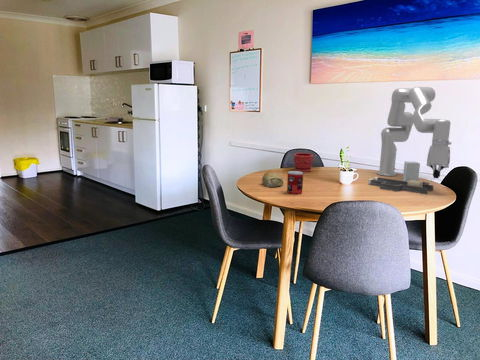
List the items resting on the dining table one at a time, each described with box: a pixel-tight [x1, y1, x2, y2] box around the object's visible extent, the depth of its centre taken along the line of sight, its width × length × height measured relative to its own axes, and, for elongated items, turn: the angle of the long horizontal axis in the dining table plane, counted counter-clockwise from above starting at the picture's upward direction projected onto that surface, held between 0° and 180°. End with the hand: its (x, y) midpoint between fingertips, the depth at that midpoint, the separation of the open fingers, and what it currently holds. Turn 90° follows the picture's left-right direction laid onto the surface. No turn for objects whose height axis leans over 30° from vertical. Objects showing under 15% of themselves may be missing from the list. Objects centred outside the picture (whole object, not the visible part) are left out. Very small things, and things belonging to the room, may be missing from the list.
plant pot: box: [293, 152, 314, 173], centre depth 259 cm, size 13×13×12 cm
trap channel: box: [368, 176, 434, 195], centre depth 213 cm, size 22×32×3 cm
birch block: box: [407, 180, 424, 187], centre depth 207 cm, size 6×6×5 cm
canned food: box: [286, 170, 304, 195], centre depth 195 cm, size 8×8×11 cm
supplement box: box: [402, 160, 421, 182], centre depth 226 cm, size 7×7×13 cm
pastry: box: [261, 170, 284, 188], centre depth 213 cm, size 14×12×8 cm
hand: (436, 177), depth 199 cm, fingers closed
